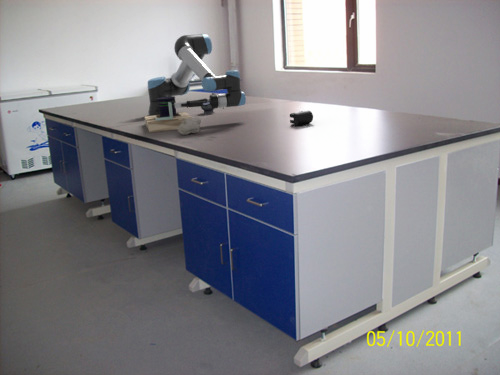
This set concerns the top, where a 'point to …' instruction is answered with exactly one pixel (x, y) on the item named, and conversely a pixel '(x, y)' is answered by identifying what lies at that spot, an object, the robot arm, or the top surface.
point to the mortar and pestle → (208, 108)
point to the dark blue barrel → (166, 106)
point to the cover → (169, 113)
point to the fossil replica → (189, 126)
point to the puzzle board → (165, 122)
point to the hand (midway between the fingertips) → (174, 105)
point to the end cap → (301, 118)
